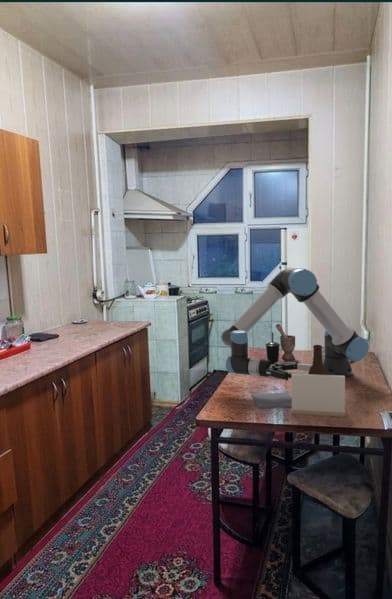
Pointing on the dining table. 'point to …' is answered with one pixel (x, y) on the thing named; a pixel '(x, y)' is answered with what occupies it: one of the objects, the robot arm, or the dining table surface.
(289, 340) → the mortar and pestle
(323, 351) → the dish
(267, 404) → the mat
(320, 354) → the beer bottle
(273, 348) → the drinking cup
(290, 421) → the dining table surface
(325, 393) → the screen
